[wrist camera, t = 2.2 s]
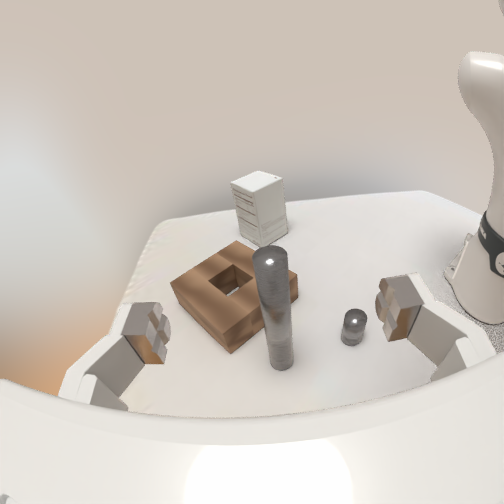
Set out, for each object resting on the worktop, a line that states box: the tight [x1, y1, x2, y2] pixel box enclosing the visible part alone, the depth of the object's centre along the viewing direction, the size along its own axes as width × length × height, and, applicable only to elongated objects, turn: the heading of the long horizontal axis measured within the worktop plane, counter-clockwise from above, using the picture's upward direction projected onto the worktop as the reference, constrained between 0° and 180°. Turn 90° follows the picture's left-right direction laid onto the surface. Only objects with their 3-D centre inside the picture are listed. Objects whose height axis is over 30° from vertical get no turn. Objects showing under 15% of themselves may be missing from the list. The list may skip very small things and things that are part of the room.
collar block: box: [170, 241, 298, 354], centre depth 43 cm, size 14×14×5 cm
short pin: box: [341, 309, 367, 346], centre depth 34 cm, size 3×3×4 cm
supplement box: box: [231, 170, 288, 247], centre depth 54 cm, size 7×7×13 cm
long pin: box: [252, 245, 293, 371], centre depth 29 cm, size 3×3×18 cm
